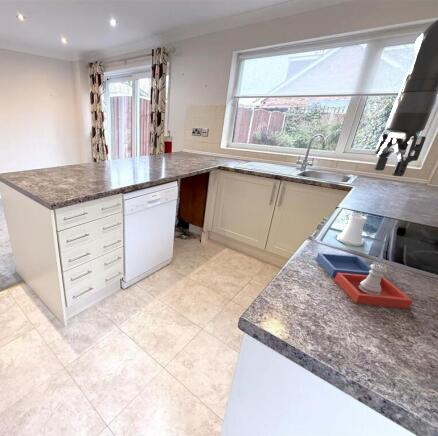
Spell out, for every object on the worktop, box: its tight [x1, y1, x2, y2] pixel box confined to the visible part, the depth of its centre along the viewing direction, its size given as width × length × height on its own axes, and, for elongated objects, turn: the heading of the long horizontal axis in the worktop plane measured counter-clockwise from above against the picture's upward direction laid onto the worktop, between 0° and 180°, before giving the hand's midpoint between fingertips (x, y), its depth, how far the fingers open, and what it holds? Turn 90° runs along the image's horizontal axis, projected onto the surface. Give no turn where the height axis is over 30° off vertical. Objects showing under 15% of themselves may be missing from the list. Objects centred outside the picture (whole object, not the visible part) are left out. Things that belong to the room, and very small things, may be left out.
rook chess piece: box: [359, 262, 388, 295], centre depth 63 cm, size 4×4×8 cm
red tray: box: [334, 273, 414, 309], centre depth 64 cm, size 12×10×2 cm
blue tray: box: [315, 252, 371, 278], centre depth 74 cm, size 12×10×2 cm
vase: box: [336, 213, 368, 247], centre depth 90 cm, size 8×8×10 cm
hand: (387, 172), depth 71 cm, fingers open, 8 cm apart
